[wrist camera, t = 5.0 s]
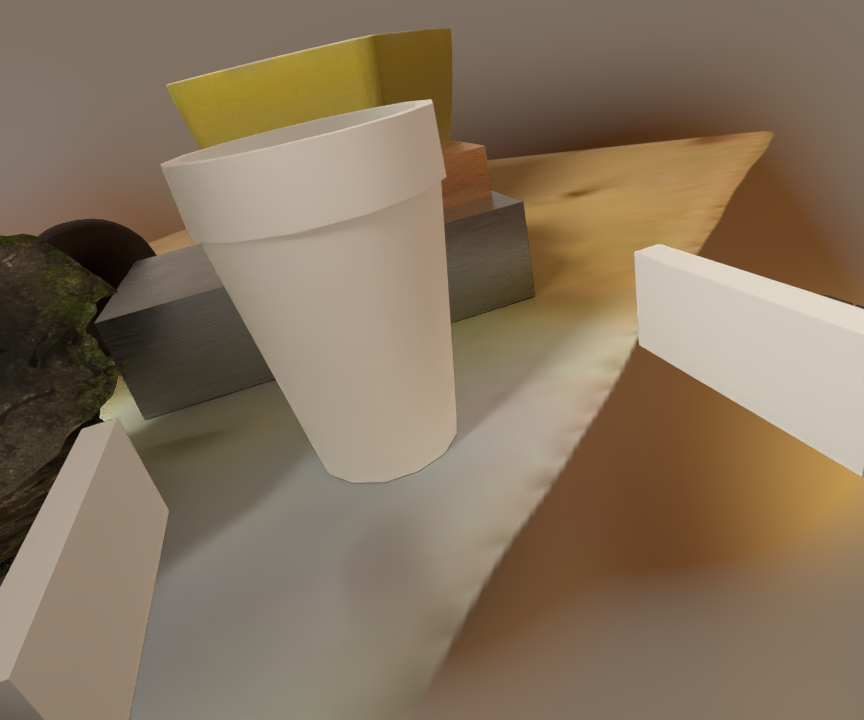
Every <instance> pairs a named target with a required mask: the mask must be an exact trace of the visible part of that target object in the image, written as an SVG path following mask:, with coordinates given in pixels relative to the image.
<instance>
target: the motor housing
mask: <svg viewBox="0 0 864 720" xmlns="http://www.w3.org/2000/svg"><path fill="white" fill-rule="evenodd" d="M441 149H442V155H443V160H444V166H445V171H446V176H447V177H446V178H444V179H443V180H441V186H442V201H443V216H444V231H445V246H446V261H447V276H448V291H449V306H450V321H451V323H452V322H455V321H458V320H462V319H465V318H468V317H471V316H474V315H477V314H480V313H484V312H487V311H490V310H493V309H496V308H499V307H502V306H506V305H509V304H512V303H515V302H518V301H521V300H524V299H528V298H531V297H534V296H535V291H534V283H533V275H532V267H531V259H530V251H529V243H528V235H527V227H526V219H525V211H524V204H523V201H521V200H518V199H515V198H512V197H509V196H506V195H503V194H500V193H498V192H495V191H492V190H491V184H490V177H489V171H488V164H487V158H486V151H485V146H482V145H476V144H470V143H465V142H458V141H449V142H445V143H441ZM117 291H118V292H117V293H116V294H115V295H113V296H112V298H111V299H110V301H109V302H108V303H107V305H106V306H105V308H104V309H103V311H102V312H101V314H100V315H99V317H98V318H97V320H96V321H95V323H94V324H95V326H96V327H97V329H98V331H99V333H100V335H101V337H102V339H103V341H104V343H105V345H106V347H107V348H108V350H109V352H110V354H111V356H112V358H113V360H114V362H115V364H118V363H120V362H125V361H128V363H129V365H130V368H129V369H128V370H126V371H125V372H123V373H122V374H121V375H122V377H123V379H124V381H125V383H126V385H127V387H128V389H129V391H130V392H131V394H132V396H133V398H134V400H135V402H136V404H137V406H138V408H139V410H140V412H141V413H142V415H143V417H144V419H145V420H147V419H150V418H153V417H156V416H159V415H163V414H166V413H169V412H172V411H175V410H178V409H181V408H185V407H188V406H191V405H194V404H197V403H200V402H203V401H207V400H210V399H213V398H216V397H219V396H222V395H225V394H229V393H232V392H235V391H238V390H241V389H244V388H247V387H251V386H254V385H257V384H260V383H263V382H266V381H270V380H273V379H275V377H274V375H273V374H272V372H271V370H270V368H269V366H268V365H267V363H266V361H265V359H264V357H263V356H262V354H261V352H260V350H259V348H258V347H257V345H256V343H255V341H254V339H253V337H252V336H251V334H250V332H249V330H248V328H247V327H246V325H245V323H244V321H243V319H242V318H241V316H240V314H239V312H238V310H237V309H236V307H235V305H234V303H233V301H232V300H231V298H230V296H229V294H228V292H227V290H226V289H225V287H224V285H223V283H222V281H221V280H220V278H219V276H218V274H217V272H216V271H215V269H214V267H213V265H212V263H211V262H210V260H209V258H208V256H207V254H206V253H205V251H204V249H203V247H202V245H201V244H199V245H195V246H191V247H188V248H184V249H180V250H176V251H173V252H169V253H165V254H162V255H158V256H154V257H150V258H147V259H143V260H139V261H136V262H135V263H134V265H133V266H132V268H131V269H130V271H129V272H128V274H127V275H126V277H125V278H124V280H123V281H122V283H121V284H120V286H119V287H118V289H117Z"/></svg>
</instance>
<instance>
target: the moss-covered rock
mask: <svg viewBox="0 0 864 720" xmlns="http://www.w3.org/2000/svg"><path fill="white" fill-rule="evenodd" d="M117 292H118V291H117V290H116V289H115V288H113V287H112V286H111V285H109V284H108V283H107V282H106V281H104V280H103V279H101V278H100V277H99V276H97V275H93V274H92V273H91V272H90V271H88V270H87V269H85V268H84V267H82V266H81V265H80V264H79V263H78V262H77V261H75V260H74V259H72V258H71V257H69V256H68V255H66V254H65V253H64V252H62V251H61V250H59V249H58V248H57V247H55V246H53V245H51V244H49V243H46V242H45V241H44V240H42V239H41V238H38V237H36V236H33V235H27V234H19V235H13V236H0V564H1V563H3V562H4V561H6V560H7V559H9V558H11V557H16V556H17V554H18V552H19V550H20V548H21V546H22V544H23V542H24V540H25V538H26V536H27V534H28V532H29V530H30V528H31V527H32V525H33V523H34V521H35V519H36V517H37V515H38V513H39V511H40V509H41V507H42V505H43V503H44V501H45V499H46V497H47V496H48V494H49V492H50V490H51V488H52V486H53V484H54V482H55V480H56V478H57V476H58V474H59V472H60V470H61V468H62V466H63V464H64V463H65V461H66V459H67V457H68V455H69V453H70V451H71V449H72V447H73V445H74V443H75V441H76V439H77V437H78V435H79V433H80V431H81V430H82V429H83V428H87V427H90V426H93V425H96V424H99V423H102V422H104V421H103V420H101V419H100V418H99V416H100V408H101V407H102V406H103V405H104V404H105V403H106V402H107V401H108V400H109V399H110V398H111V397H112V395H113V392H114V390H115V387H116V383H117V379H118V376H119V375H120V374H122V373H123V372H125V371H126V370H128V369H129V368H130V365H129V363H128V361H125V362H120V363H118V364H116V365H113V364H112V363H111V361H110V360H109V359H108V358H107V357H106V355H105V354H104V353H103V352H102V351H101V350H100V349H99V346H98V343H97V340H95V339H94V338H93V337H92V336H91V335H90V334H87V333H86V327H87V325H88V324H89V322H90V320H91V319H92V318H93V316H94V315H95V314H96V313H97V308H96V302H97V301H98V300H100V299H102V298H105V297H108V296H112V295H115V294H116V293H117Z"/></svg>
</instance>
